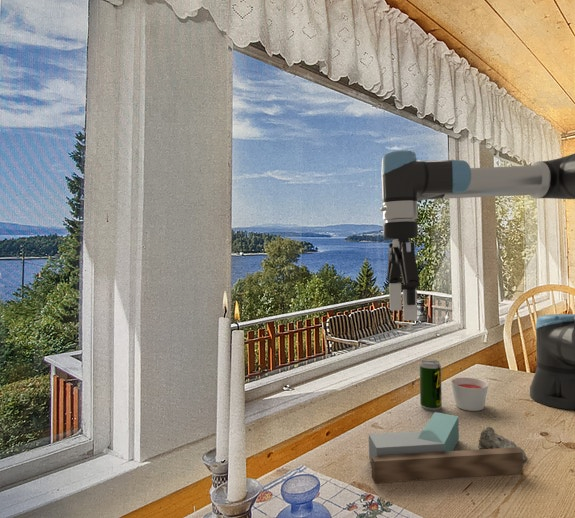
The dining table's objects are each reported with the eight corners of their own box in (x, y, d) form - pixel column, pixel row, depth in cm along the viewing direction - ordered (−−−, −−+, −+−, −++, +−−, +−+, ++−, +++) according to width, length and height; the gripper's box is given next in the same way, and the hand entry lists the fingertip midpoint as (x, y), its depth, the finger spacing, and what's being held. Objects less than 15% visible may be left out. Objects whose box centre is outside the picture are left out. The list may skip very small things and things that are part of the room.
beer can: (418, 408, 112) (417, 363, 112) (422, 401, 117) (421, 358, 116) (440, 412, 109) (439, 365, 109) (443, 404, 114) (442, 360, 114)
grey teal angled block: (453, 433, 97) (452, 411, 97) (487, 467, 82) (487, 441, 82) (359, 438, 96) (358, 416, 95) (377, 474, 81) (376, 447, 80)
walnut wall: (516, 467, 82) (516, 447, 82) (523, 473, 80) (522, 452, 80) (371, 477, 80) (371, 456, 80) (374, 482, 78) (374, 461, 78)
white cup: (489, 403, 115) (489, 379, 114) (487, 415, 107) (487, 390, 106) (453, 398, 119) (453, 375, 119) (449, 410, 111) (448, 385, 111)
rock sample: (533, 454, 79) (498, 412, 85) (499, 477, 81) (466, 435, 86) (537, 456, 87) (504, 418, 93) (506, 477, 88) (476, 438, 94)
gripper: (373, 224, 109) (376, 307, 110) (395, 218, 85) (398, 325, 85) (403, 223, 109) (405, 306, 110) (434, 217, 84) (436, 324, 85)
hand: (402, 314), depth 98 cm, fingers open, 13 cm apart
